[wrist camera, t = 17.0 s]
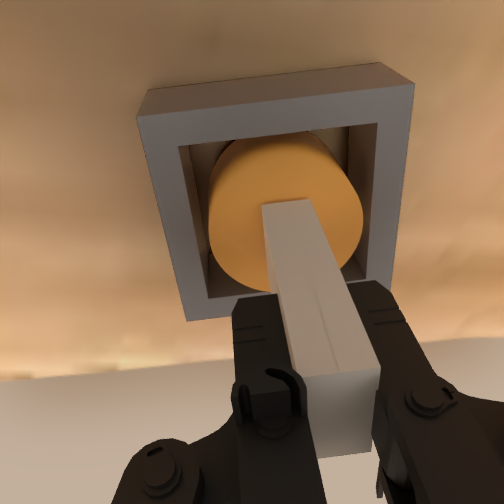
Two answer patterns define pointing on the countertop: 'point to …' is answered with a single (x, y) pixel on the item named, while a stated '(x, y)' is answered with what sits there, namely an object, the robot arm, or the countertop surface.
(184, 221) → the button housing
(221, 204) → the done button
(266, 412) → the robot arm
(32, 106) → the countertop surface
